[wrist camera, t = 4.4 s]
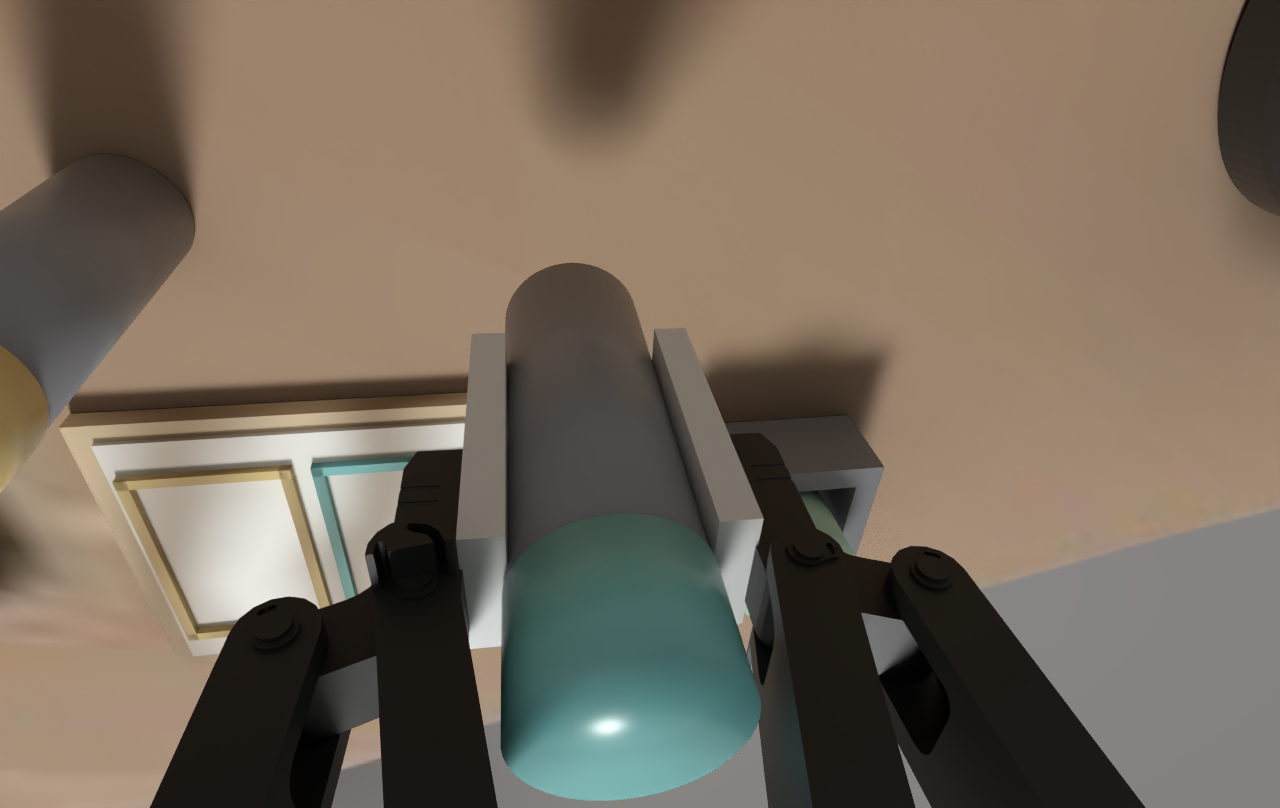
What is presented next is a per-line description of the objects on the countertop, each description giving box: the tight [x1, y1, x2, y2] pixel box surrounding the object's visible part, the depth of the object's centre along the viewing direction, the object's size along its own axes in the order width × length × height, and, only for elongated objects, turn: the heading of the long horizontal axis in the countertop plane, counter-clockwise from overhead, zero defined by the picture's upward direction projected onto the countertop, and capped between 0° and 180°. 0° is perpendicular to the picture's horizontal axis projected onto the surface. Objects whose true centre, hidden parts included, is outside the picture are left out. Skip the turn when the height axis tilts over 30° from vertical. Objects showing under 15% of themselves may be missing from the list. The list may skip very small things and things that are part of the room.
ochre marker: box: [0, 154, 195, 493], centre depth 17 cm, size 4×4×12 cm
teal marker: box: [501, 263, 761, 801], centre depth 15 cm, size 4×4×12 cm
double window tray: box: [59, 392, 467, 665], centre depth 30 cm, size 18×13×1 cm
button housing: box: [725, 415, 884, 556], centre depth 31 cm, size 8×8×4 cm
